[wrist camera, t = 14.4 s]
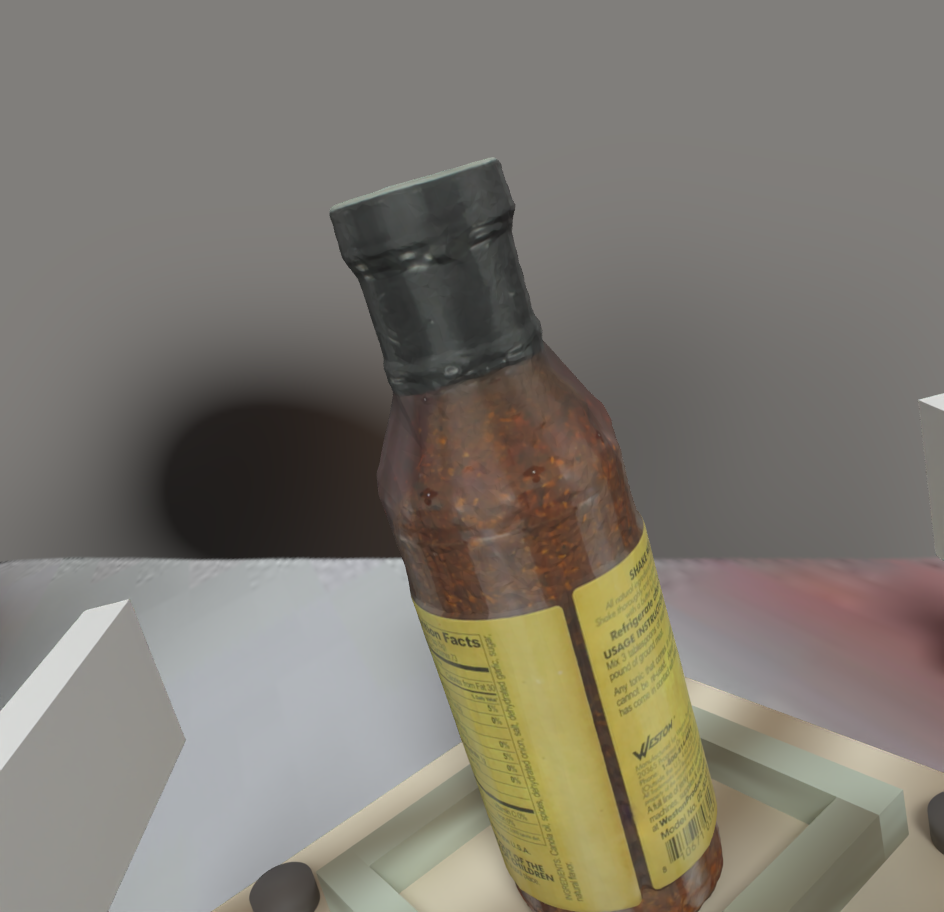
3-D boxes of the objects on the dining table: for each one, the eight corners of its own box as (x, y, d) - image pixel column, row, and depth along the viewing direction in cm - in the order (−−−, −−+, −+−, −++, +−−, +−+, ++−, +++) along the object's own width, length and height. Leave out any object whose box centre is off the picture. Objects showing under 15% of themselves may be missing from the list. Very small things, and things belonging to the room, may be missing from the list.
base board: (221, 951, 29) (190, 876, 28) (609, 677, 38) (595, 615, 38) (627, 1548, 14) (588, 1432, 14) (1092, 872, 24) (1085, 779, 23)
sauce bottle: (677, 774, 29) (536, 148, 24) (773, 914, 23) (614, 121, 18) (485, 842, 29) (293, 213, 23) (533, 1004, 23) (289, 208, 17)
